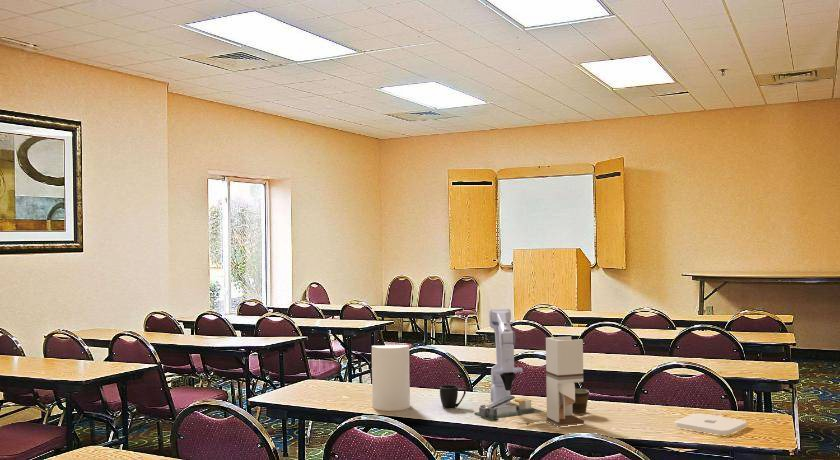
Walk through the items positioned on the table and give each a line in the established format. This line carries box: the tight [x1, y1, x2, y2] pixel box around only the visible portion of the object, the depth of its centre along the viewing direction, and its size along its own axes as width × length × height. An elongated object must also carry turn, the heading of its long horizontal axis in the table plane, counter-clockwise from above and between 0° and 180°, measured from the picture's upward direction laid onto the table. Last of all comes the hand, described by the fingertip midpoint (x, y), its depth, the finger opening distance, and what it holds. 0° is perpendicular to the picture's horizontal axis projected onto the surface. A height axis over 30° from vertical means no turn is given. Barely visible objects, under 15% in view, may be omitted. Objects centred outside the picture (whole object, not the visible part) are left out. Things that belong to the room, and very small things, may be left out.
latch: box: [514, 397, 532, 410], centre depth 329 cm, size 5×5×5 cm
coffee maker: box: [545, 336, 585, 428], centre depth 307 cm, size 11×11×35 cm
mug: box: [439, 384, 467, 410], centre depth 339 cm, size 8×12×10 cm
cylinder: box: [371, 344, 411, 412], centre depth 343 cm, size 17×17×28 cm
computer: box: [674, 412, 748, 435], centre depth 298 cm, size 22×22×3 cm
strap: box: [483, 394, 516, 410], centre depth 323 cm, size 4×15×1 cm, turn 118°
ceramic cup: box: [572, 388, 590, 415], centre depth 323 cm, size 13×10×10 cm
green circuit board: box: [473, 403, 544, 422], centre depth 325 cm, size 14×28×4 cm, turn 118°
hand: (507, 390), depth 325 cm, fingers closed
